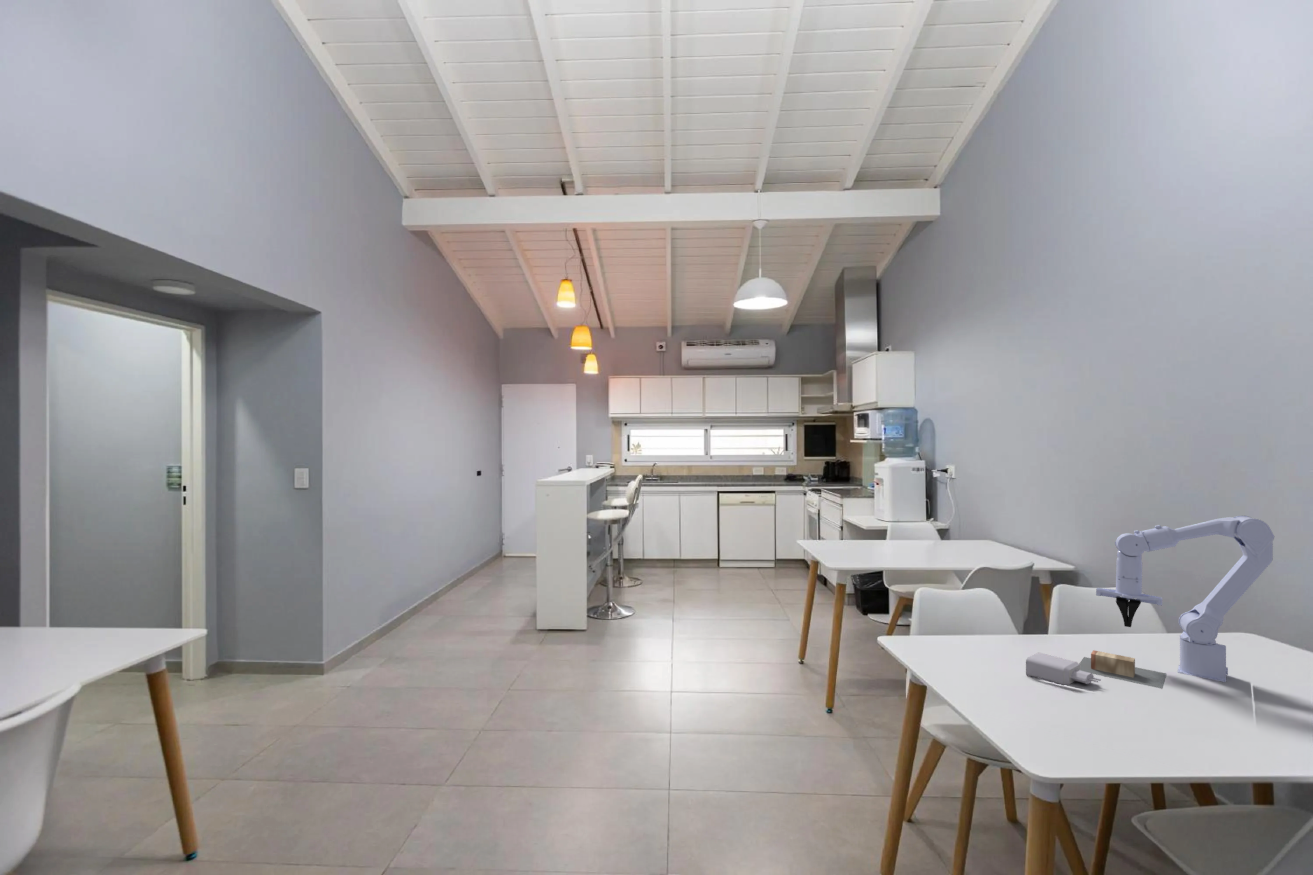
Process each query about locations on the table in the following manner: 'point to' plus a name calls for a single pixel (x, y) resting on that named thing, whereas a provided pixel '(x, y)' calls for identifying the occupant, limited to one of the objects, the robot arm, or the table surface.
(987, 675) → the table surface
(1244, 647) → the table surface
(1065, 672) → the charger
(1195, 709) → the table surface
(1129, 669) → the maple block
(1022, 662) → the table surface
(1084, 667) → the rubber mat
